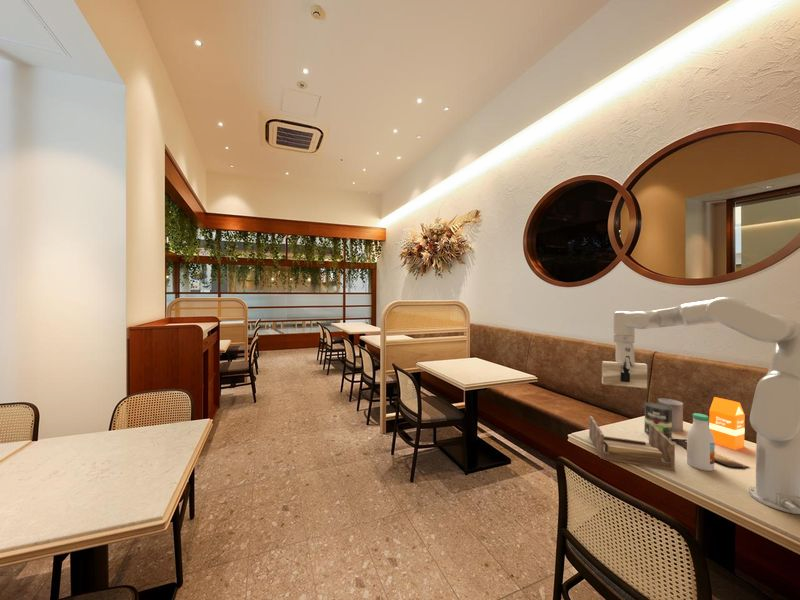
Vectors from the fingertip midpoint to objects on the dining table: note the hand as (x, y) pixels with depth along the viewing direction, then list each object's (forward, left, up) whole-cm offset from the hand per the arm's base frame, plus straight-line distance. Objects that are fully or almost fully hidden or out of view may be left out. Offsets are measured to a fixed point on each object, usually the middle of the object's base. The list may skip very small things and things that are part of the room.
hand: (623, 380), depth 138 cm
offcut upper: (-12, 0, -26) cm, 29 cm away
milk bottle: (-9, -23, -29) cm, 38 cm away
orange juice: (+19, -44, -29) cm, 56 cm away
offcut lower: (-12, 0, -28) cm, 30 cm away
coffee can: (+19, -19, -29) cm, 40 cm away
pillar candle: (+31, -28, -29) cm, 51 cm away
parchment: (+7, -35, -29) cm, 46 cm away
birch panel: (0, 0, -2) cm, 2 cm away
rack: (-6, 0, -29) cm, 30 cm away
